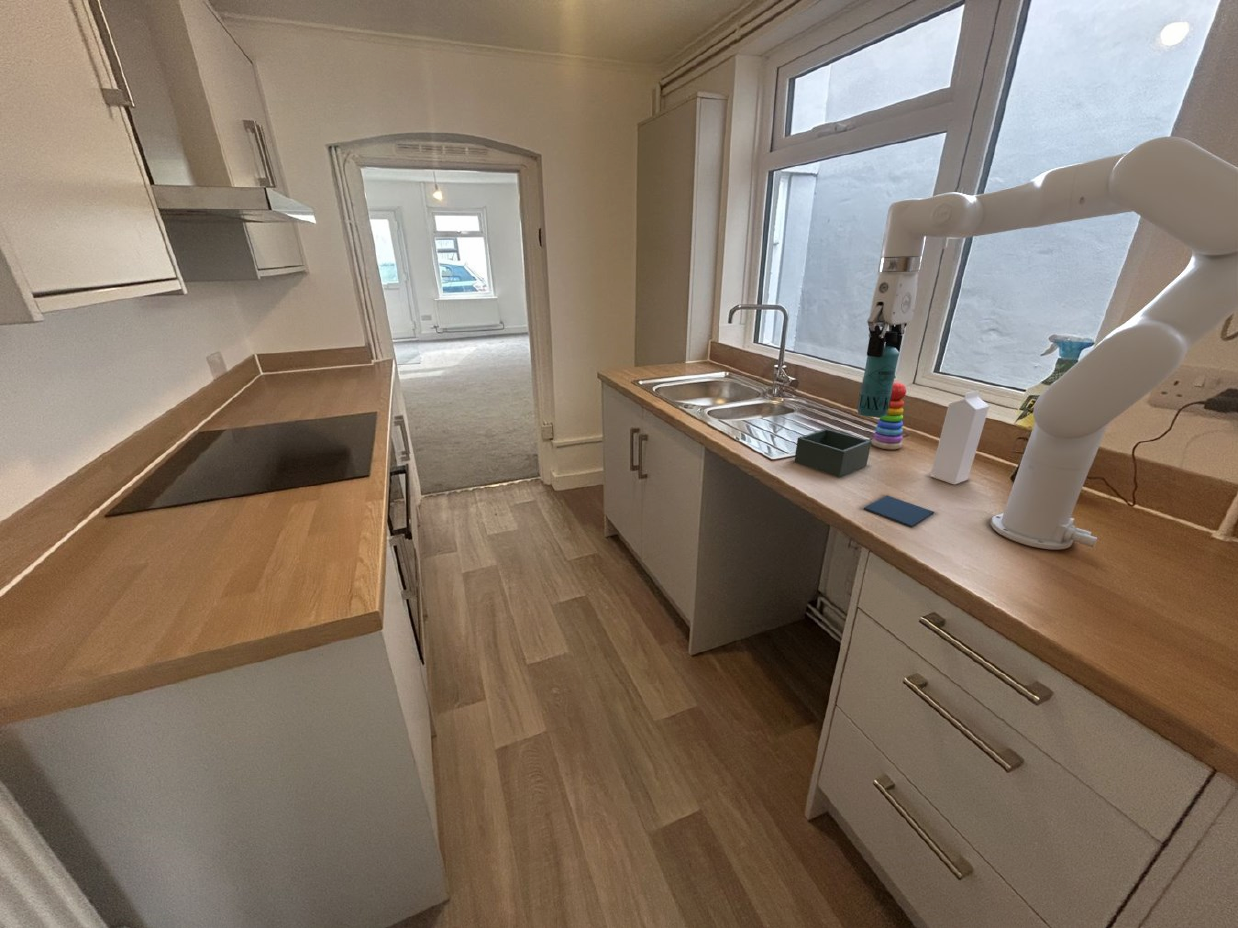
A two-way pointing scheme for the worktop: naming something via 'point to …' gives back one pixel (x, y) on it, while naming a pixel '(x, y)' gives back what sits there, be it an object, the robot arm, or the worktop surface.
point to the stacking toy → (891, 421)
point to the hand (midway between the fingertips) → (883, 353)
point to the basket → (832, 452)
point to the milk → (959, 439)
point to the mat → (899, 511)
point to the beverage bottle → (879, 380)
